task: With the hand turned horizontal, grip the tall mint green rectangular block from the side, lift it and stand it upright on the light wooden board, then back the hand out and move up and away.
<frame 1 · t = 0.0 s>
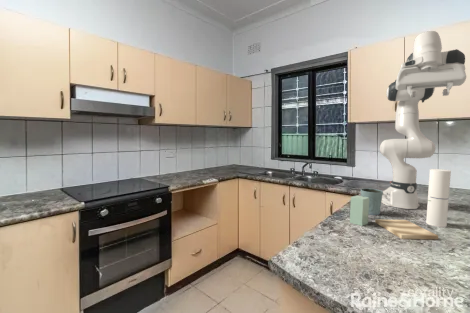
hand: (429, 95, 86), 54 cm above the countertop, tool tilted 30°, fingers open, 8 cm apart
teal plant pot: (370, 213, 125), on the countertop
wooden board: (403, 230, 101), on the countertop
cylindrical container: (436, 224, 108), on the countertop
mint green rectangular block: (358, 223, 109), on the countertop
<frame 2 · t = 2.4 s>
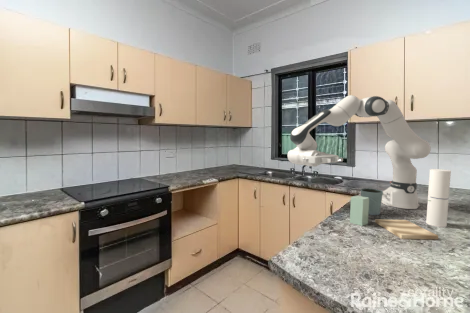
hand: (336, 160, 117), 28 cm above the countertop, tool horizontal, fingers open, 8 cm apart
nothing on the countertop moved.
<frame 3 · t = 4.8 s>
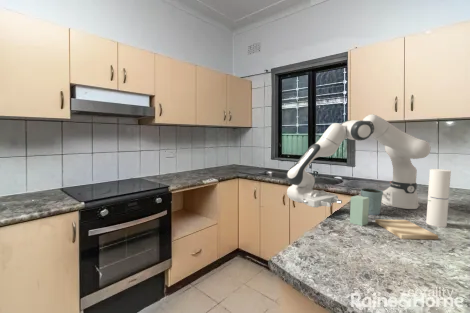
hand: (336, 203, 118), 6 cm above the countertop, tool horizontal, fingers open, 8 cm apart
nothing on the countertop moved.
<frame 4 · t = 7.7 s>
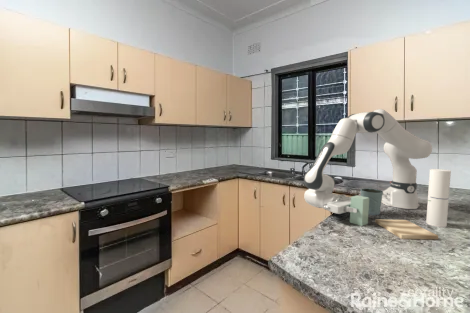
hand: (361, 209, 108), 7 cm above the countertop, tool horizontal, fingers closed on mint green rectangular block, 5 cm apart
mint green rectangular block: (358, 222, 109), on the countertop, touching gripper
everything else where it was.
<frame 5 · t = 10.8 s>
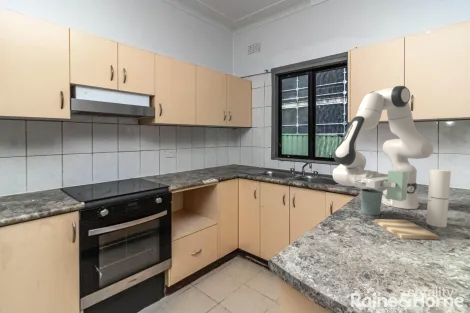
hand: (399, 184, 100), 20 cm above the countertop, tool horizontal, fingers closed on mint green rectangular block, 5 cm apart
mint green rectangular block: (396, 198, 102), point 13 cm above the countertop, touching gripper
everything else where it was.
when the fingers open (9 cm above the countertop, at t = 14.2 s): mint green rectangular block drops 1 cm, resting on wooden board.
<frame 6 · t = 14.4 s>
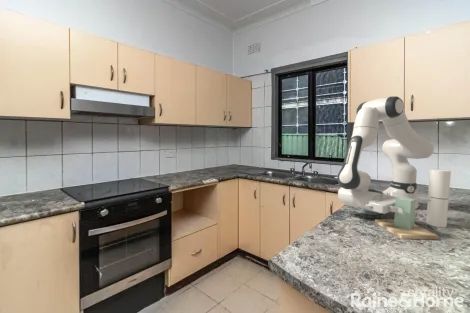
hand: (407, 208, 99), 9 cm above the countertop, tool horizontal, fingers open, 8 cm apart
mint green rectangular block: (404, 226, 101), point 2 cm above the countertop, touching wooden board
everything else where it was.
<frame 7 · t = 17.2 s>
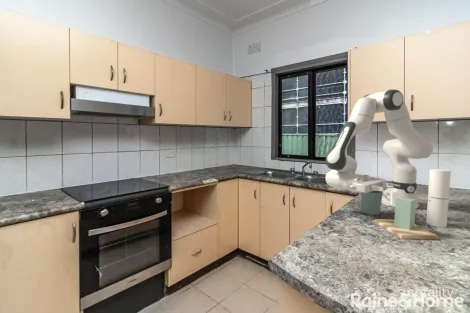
hand: (388, 187, 105), 17 cm above the countertop, tool horizontal, fingers open, 8 cm apart
nothing on the countertop moved.
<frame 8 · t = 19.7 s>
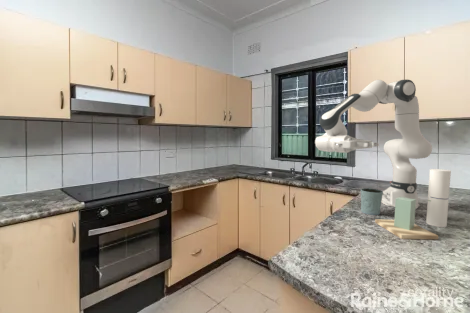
hand: (373, 144, 109), 36 cm above the countertop, tool horizontal, fingers open, 8 cm apart
nothing on the countertop moved.
at the end: mint green rectangular block inside the target area on the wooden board (0.1 cm from its centre), point 1.5 cm above the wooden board's base; mint green rectangular block tilted 0°; the gripper is holding nothing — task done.
